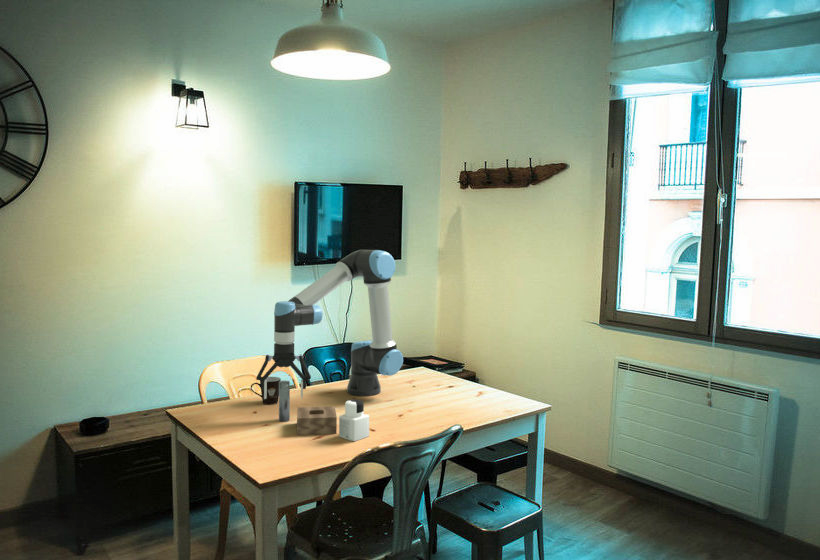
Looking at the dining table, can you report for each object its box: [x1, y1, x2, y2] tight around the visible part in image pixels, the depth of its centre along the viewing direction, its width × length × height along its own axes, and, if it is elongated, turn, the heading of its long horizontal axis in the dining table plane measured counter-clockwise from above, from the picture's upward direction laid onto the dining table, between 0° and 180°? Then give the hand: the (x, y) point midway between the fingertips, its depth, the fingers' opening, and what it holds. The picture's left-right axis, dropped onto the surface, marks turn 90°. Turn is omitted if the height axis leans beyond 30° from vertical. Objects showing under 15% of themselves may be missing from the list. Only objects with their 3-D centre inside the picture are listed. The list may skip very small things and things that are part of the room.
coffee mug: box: [250, 376, 282, 406], centre depth 267 cm, size 12×9×10 cm
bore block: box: [296, 405, 338, 436], centre depth 234 cm, size 14×14×6 cm
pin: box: [278, 380, 291, 423], centre depth 243 cm, size 4×4×15 cm
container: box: [338, 398, 370, 442], centre depth 226 cm, size 8×8×13 cm
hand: (283, 397), depth 243 cm, fingers open, 13 cm apart
